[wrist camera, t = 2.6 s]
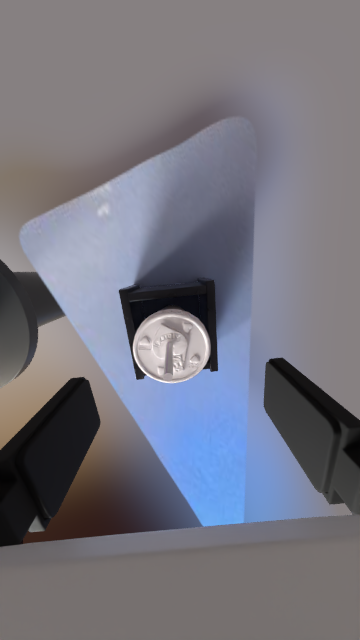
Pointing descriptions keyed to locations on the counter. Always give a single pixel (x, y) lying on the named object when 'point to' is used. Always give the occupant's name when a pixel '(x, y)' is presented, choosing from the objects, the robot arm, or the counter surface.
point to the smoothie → (171, 345)
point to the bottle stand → (136, 294)
